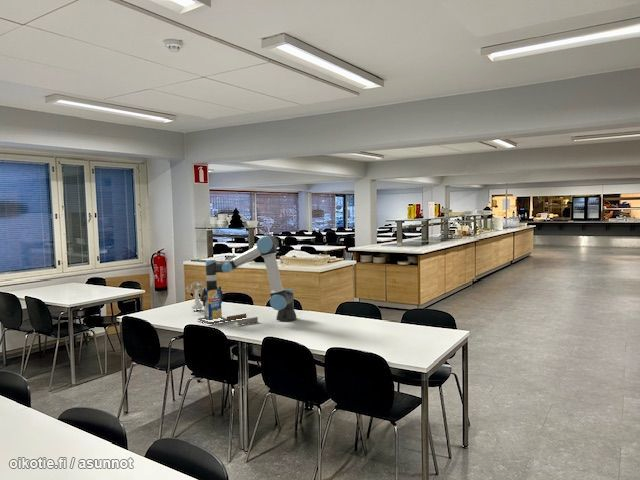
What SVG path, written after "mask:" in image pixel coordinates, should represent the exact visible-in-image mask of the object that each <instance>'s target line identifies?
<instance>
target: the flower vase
mask: <svg viewBox="0 0 640 480" xmlns="http://www.w3.org/2000/svg"><path fill="white" fill-rule="evenodd" d="M203 288H206V285H205V284H204V283H203V281H202V280H200V282H199V281H192V283H190V287H189V286H188V285H186V287H184V290H186V293H187V294H191V290H193V291H194V302H193V303H192V304H191V309H192V310H193V309H196V310H197V309H201V310H202V309H204V306H203V303H202V302H201V301H200V296H199V291H201V290H202V291H203Z"/></svg>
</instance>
